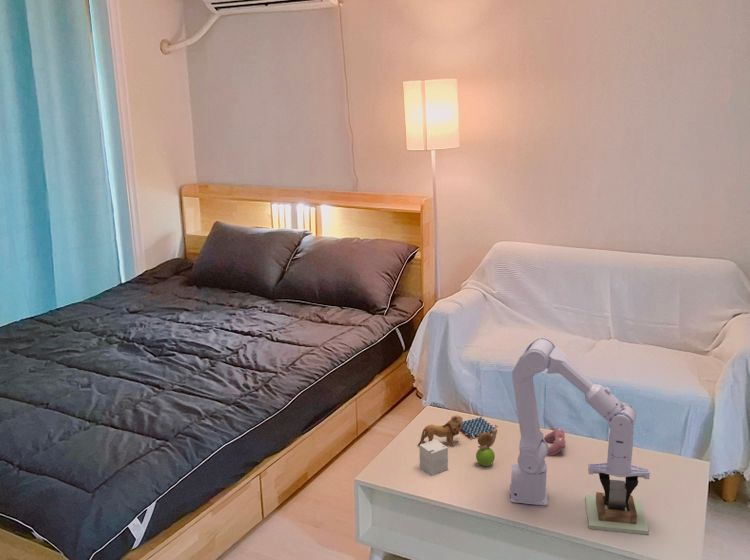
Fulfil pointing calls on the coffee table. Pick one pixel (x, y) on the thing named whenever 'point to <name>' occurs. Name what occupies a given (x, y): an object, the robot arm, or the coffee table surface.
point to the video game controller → (558, 443)
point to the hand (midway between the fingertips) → (616, 500)
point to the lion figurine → (443, 430)
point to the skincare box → (433, 457)
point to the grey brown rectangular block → (617, 495)
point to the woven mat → (476, 428)
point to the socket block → (615, 515)
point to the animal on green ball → (486, 448)
